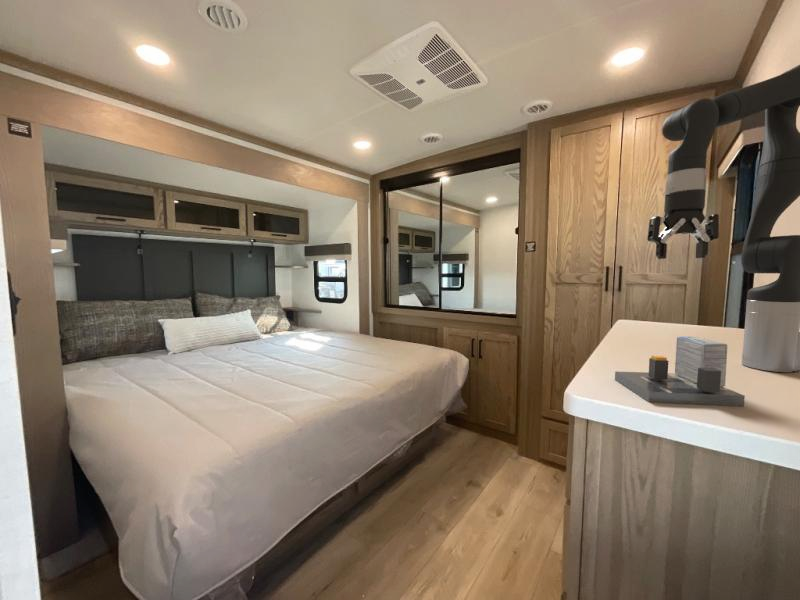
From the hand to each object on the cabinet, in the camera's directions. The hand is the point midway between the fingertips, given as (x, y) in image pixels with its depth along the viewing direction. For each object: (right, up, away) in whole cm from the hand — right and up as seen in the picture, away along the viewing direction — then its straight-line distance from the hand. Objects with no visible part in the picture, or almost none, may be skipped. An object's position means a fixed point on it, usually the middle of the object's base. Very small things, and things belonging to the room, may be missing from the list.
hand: (680, 258), depth 82 cm
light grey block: (-7, -27, -13) cm, 31 cm away
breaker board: (-13, -29, -13) cm, 35 cm away
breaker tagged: (-15, -27, -12) cm, 33 cm away
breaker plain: (-11, -27, -19) cm, 35 cm away
